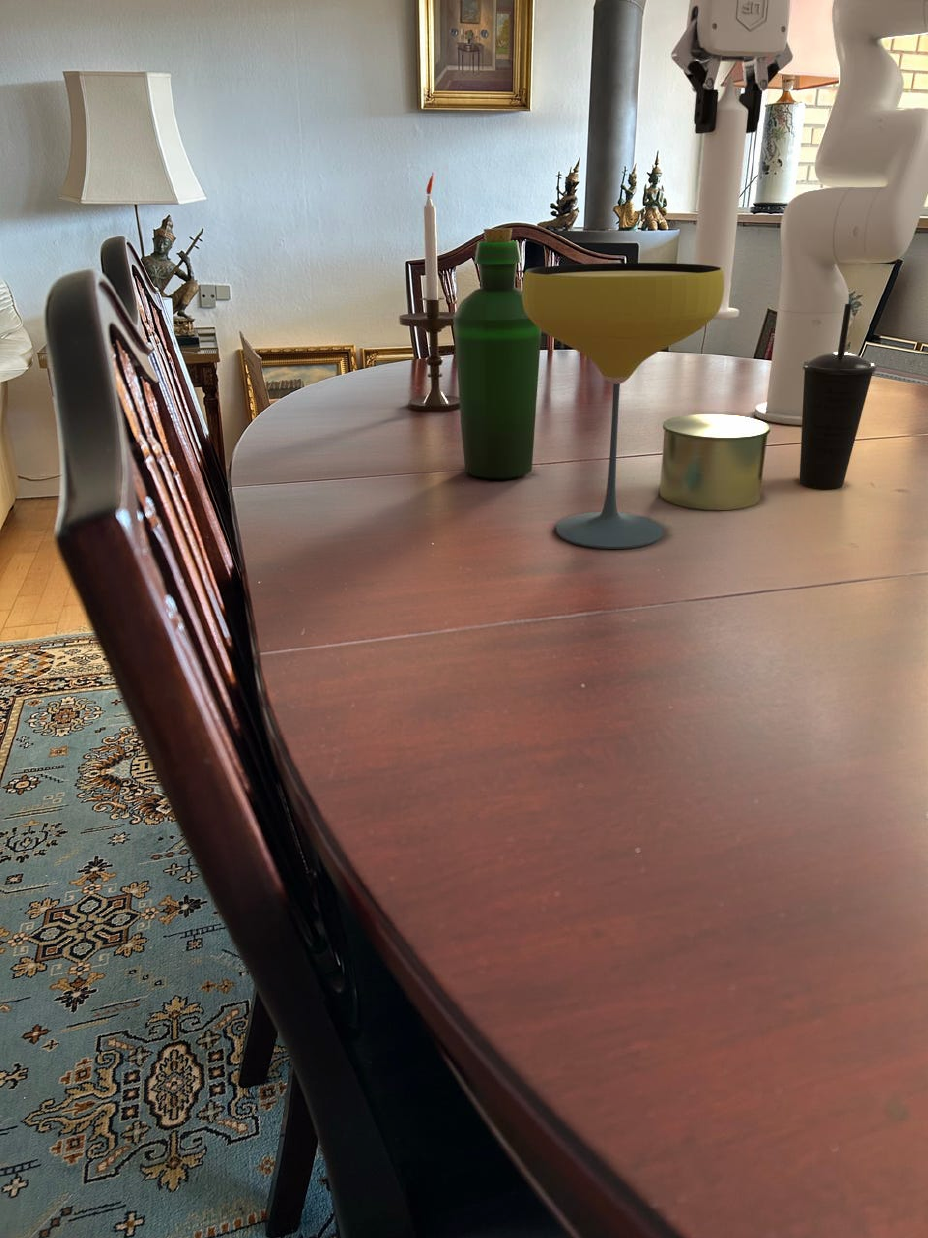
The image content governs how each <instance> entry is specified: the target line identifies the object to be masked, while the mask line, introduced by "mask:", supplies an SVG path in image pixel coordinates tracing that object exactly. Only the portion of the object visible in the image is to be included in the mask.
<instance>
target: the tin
mask: <svg viewBox="0 0 928 1238" xmlns="http://www.w3.org/2000/svg"><path fill="white" fill-rule="evenodd" d="M662 429H663V431H664V434H663V447H662V457H661V459H662V461H661V472H660V484H659V495H660V497H661V498H662V499H663V500H665V501H667V502H669V503H670V504H673V505H677V506H680V507H683V508H684V507H685V508H690V509H696V510H704V511H705V510H707V511H733V510H741V509H745V508H748V507H751V506H753V505H756V504H757V503H758V502H759V501H760V499H761V491H762V490H761V489H762V483H763V475H764V467H765V461H766V460H765V459H766V450H767V442H768V435H770V433H771V425H769V424H768V423H766V422H764V421H762V420H759V419H756V418H751V417H747V416H746V417H745V416H740V415H733V414H732V415H731V414H720V413H719V414H717V413H716V414H715V413H704V414H703V413H702V414H701V413H699V414H687V415H686V414H685V415H680V416H675V417H671V418H668V419H666V420H665V421H664V422H663V424H662Z"/></svg>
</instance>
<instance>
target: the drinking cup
mask: <svg viewBox="0 0 928 1238" xmlns="http://www.w3.org/2000/svg"><path fill="white" fill-rule="evenodd" d="M852 306H853V304H852V303H848V304H845V308H844V315H843V322H842V328H841V335H840V341H839V348H838V353H829V354H824V355H821V356H818V357H816V358H814V359H812V360H809V361H806V362H804V363H803V366H802V368H803V369H804V370H805V372H804V393H803V414H802V425H801V437H800V456H799V457H800V458H799V459H800V460H799V480H798V481H799V484H800V485H802V486H804V487H808V488H812V489H817V490H835V489H840V488H842V487H843V486H844V482H845V479H846V475H847V471H848V467H849V464H850V460H851V457H852V452H853V449H854V445H855V441H856V437H857V434H858V431H859V426H860V422H861V419H862V415H863V411H864V407H865V402H866V400H867V396H868V392H869V389H870V384H871V380H872V377H873V373H875V372H876V371H877V365H876V363H875V364H874V363H872V362H870V361H869V360H867V359H866V358H864V357H862V356H860V355H857V354H853V353H848V352H845V351H846V346H847V345H846V344H847V338H848V333H849V325H850V318H851V313H852Z"/></svg>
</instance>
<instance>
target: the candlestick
mask: <svg viewBox="0 0 928 1238" xmlns="http://www.w3.org/2000/svg"><path fill="white" fill-rule="evenodd" d="M433 183H434V172H431V177H430V178H429V180H428V184H427V186H426V190H425V192H426V195H427V196H426V201H425V205H423V206H422V209H423V212H422V213H423V236H424V238H423V239H424V261H425V262H424V265H425V266H424V267H425V294H426V297H421V298H420V300H421V301H425V309H426V311H425V312H413V313H406V314H401V315H399V316H398V320H399V321H398V322H399V325H401V326H407V327H415V328H416V327H417V328H419V327H420V328H421V329H422V330H424V332H425V333H428V334H429V356H427V357H426V358H425V362H426V365H427V366H429V373H428V374H427V377H428V378H430V390H429V392H428V394H427V395H423V396H417V397H414V398H410V399H409V400H408V408H409V409H410V410H413V411H415V412H416V411H418V412H425V413H433V412H434V413H435V412H436V413H438V412H439V413H440V412H450V411H456V410H460V400H459V396H455V395H446V394H444V393H443V391H442V390H441V388H440V378H442V377H443V373H441V372H440V366H442V364H443V362H444V359H443V357H442V356H440V355H439V333H440V332H442V331H443V329H445V328H447V327H450V326H452V327H453V326H454V321H453V316H454V315H455V313H456V311H455V312H454V311H440V301H441V300H445V299H446V298H445V297H439V280H438V279H439V278H438V248H437V243H438V242H437V215H436V205H433V200H432V196H431V194H432V190H433Z"/></svg>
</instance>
